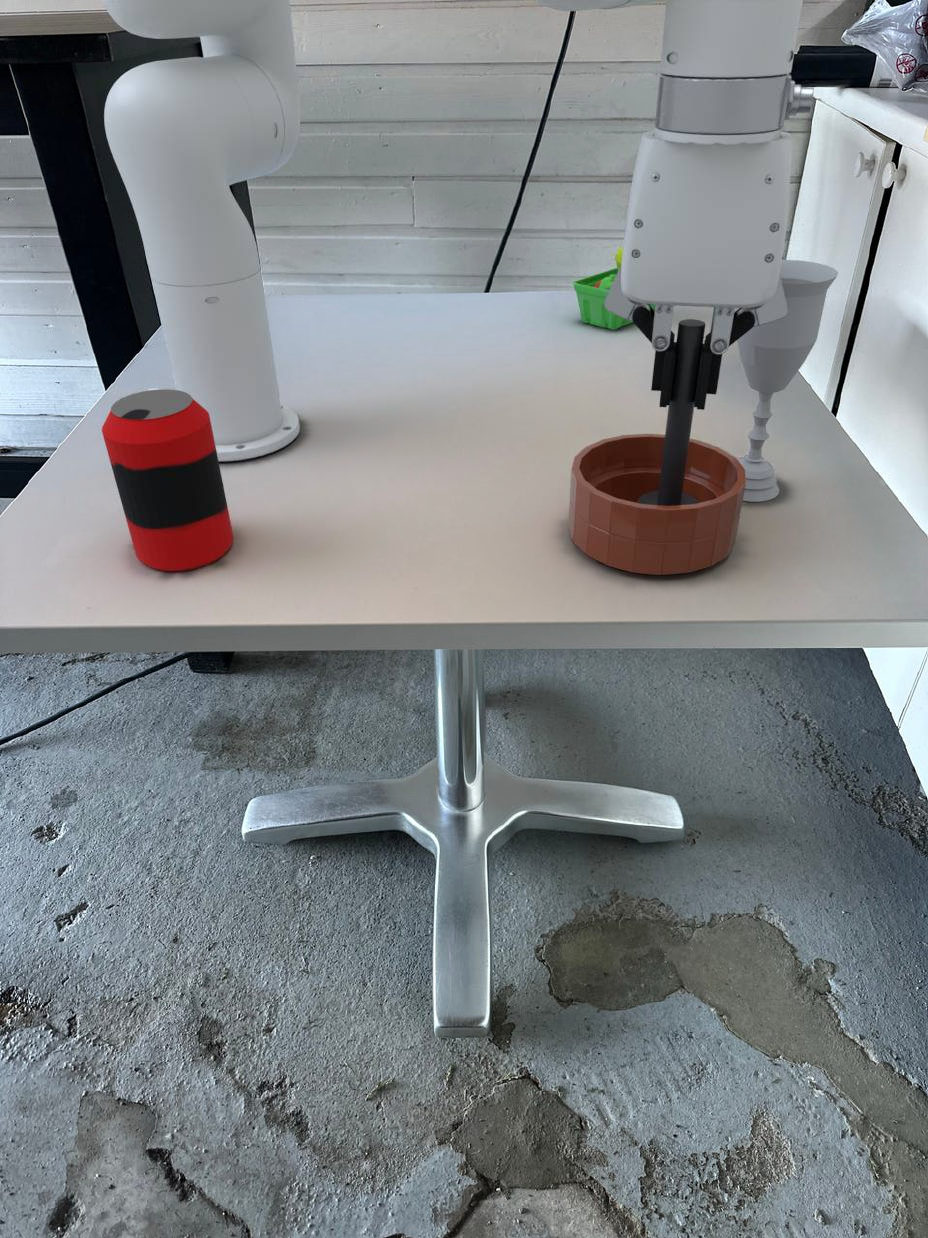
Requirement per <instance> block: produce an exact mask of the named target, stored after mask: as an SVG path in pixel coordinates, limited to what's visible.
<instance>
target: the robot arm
mask: <svg viewBox="0 0 928 1238" xmlns="http://www.w3.org/2000/svg"><path fill="white" fill-rule="evenodd" d="M101 1H102V3H103V5H104V8H105V9H106V11H107V12H108V14H109V16H110V17H111V18H112V19H113V21H114V22H115V23H116V24H117V25H118V26H119V27H120V28H122V29H123V30H125V31H127V32H128V33H130V34H132V35H136V36H138V37H141V38H147V39H155V40H156V39H157V40H169V39H170V40H171V39H186V38H199V39H200V44H201V45H200V46H201V50H202V57H201V56H191V57H190V56H189V57H182V58H173V59H164V60H155V61H150V62H146V63H143V64H140V65H137V66H135V67H133V68H131V69H129V70H128V71H126V72H124V73H123V74H122V75H120V77H119V78H118V79H117V80H116V81H115V82H114V83H113V85H112V86H111V88H110V90H109V92H108V94H107V96H106V101H105V104H104V109H103V110H104V111H103V112H104V113H103V119H104V120H103V121H104V123H103V124H104V130H105V135H106V139H107V143H108V147H109V149H110V152H111V154H112V158H113V160H114V163H115V165H116V167H117V170H118V172H119V174H120V177H121V179H122V182H123V184H124V186H125V189H126V192H127V195H128V197H129V200H130V203H131V205H132V209H133V211H134V214H135V218H136V221H137V225H138V229H139V232H140V236H141V240H142V245H143V249H144V252H145V257H146V262H147V265H148V270H149V275H150V278H151V281H152V286H153V292H154V295H155V299H156V306H157V309H158V314H159V318H160V322H161V328H162V332H163V337H164V341H165V346H166V351H167V355H168V359H169V360H168V361H169V364H170V369H171V373H172V378H173V383H174V387H175V390H179V391H183V392H186V393H188V394H189V395H191V397H192V398H193V399H194V400H195V401H196V402H197V403H199V404H200V405H201V406H202V407H203V408H204V409H206V410H207V412H208V413H209V416H210V421H211V426H212V431H213V436H214V441H215V446H216V451H217V456H218V461H219V462H234V461H243V460H249V459H254V458H259V457H262V456H265V455H268V454H271V453H274V452H277V451H278V450H280V449H283V448H285V447H286V446H287V445H289V444H290V443H292V442H293V441H294V439H296V438H297V437H298V435H299V433H300V430H301V425H300V420H299V416H298V414H297V413H296V412H295V411H294V410H293V409H291V408H289V407H288V406H285V405H283V404H282V403H281V397H280V396H281V395H280V389H279V384H278V376H277V370H276V369H277V368H276V363H275V357H274V349H273V343H272V338H271V336H272V335H271V329H270V322H269V315H268V310H267V302H266V296H265V288H264V282H263V276H262V268H261V265H260V264H261V263H260V258H259V251H258V247H257V243H256V242H257V241H256V238H255V235H254V232H253V230H252V227H251V226H250V223H249V221H248V219H247V217H246V215H245V214H244V212H243V211H242V209H241V207H240V205H239V203H238V202H237V199H236V198H235V197H234V195H233V193H232V191H231V188H230V186H232V185H233V184H234V185H235V184H236V183H242V182H244V181H248V180H252V179H256V178H259V177H260V178H261V177H263V176H267V175H270V174H272V173H274V172H276V171H278V170H280V169H281V168H283V167H284V166H285V165H287V163H288V162H289V161H290V159H291V158H292V156H293V155H294V152H295V150H296V148H297V145H298V142H299V138H300V137H299V136H300V132H301V131H300V130H301V103H300V102H301V101H300V91H299V82H298V81H299V80H298V71H297V61H296V52H295V41H294V40H295V39H294V31H293V30H294V29H293V21H292V20H293V19H292V12H291V11H292V10H291V9H292V8H291V0H101ZM534 1H535V2H537V3H538V4H540V5H541V6H544V7H546V8H549V9H553V10H556V11H560V12H580V11H590V10H591V11H592V10H615V9H625V8H631V7H638V6H643V5H647V4H652V3H658V2H663V1H664V0H534ZM665 1H666V2H665V14H664V23H663V34H662V44H661V56H660V64H659V65H660V66H659V73H660V74H659V76H658V77H659V79H658V89H657V97H656V98H657V100H656V110H655V121H654V130H648V131H644V132H643V133H642V136H641V140H640V143H639V146H638V150H637V155H636V159H635V165H634V169H633V173H632V179H631V185H630V191H629V198H628V205H627V213H626V214H627V215H626V219H625V227H624V228H625V229H624V237H623V243H622V244H623V245H622V246H623V253H622V264H621V266H620V269H619V271H618V273H617V275H616V277H615V279H614V281H613V283H612V285H611V287H610V289H609V292H608V294H607V296H606V299H605V302H604V307H605V309H606V310H608V311H609V312H611V313H614V314H616V315H618V316H620V317H622V318H624V319H626V320H627V319H628V320H630V321H632V323H633V324H634V325H635V326H636V327H637V328H638V329H639V331H640V332H641V333H642V334H643V336H645V338H646V339H647V340H648V341H649V342H650V344H651V346H652V348H653V350H654V351H655V352H654V361H653V369H652V378H651V379H652V380H651V387H650V391H651V392H653V391H654V392H660V397H659V406H658V407H659V408H667V406H668V407H669V406H670V398H671V390H672V382H673V373H674V365H675V357H676V341H675V337H676V334H675V333H674V332H673V330H672V325H673V315H674V306H677V307H700V308H713V311H712V318H711V323H710V325H711V326H710V330H709V333H707V334H706V335H705V336H704V340H703V346H702V350H701V357H700V364H699V371H698V379H697V386H696V393H695V401H694V408H696V410H700V411H701V410H703V411H705V408H706V402H707V395H717V392H718V385H719V378H720V373H721V367H722V360H723V359H722V358H723V354H725V353H726V352H727V351H728V349H729V347H731V346H732V345H733V344H734V343H735V342H737V340H738V339H739V338H740V337H742V336H743V335H744V334H745V333H747V332H748V331H749V330H751V329H752V328H753V327H756V326H761V325H764V324H767V323H770V322H773V321H776V320H779V319H782V318H784V317H785V316H786V315H787V313H788V307H787V302H786V298H785V293H784V289H783V284H782V280H781V275H780V270H781V264H782V260H783V258H784V257H783V256H784V252H785V251H784V249H785V243H786V235H787V228H788V227H787V226H788V220H789V219H788V218H789V209H790V208H789V207H790V198H791V197H790V196H791V195H790V193H791V176H792V175H791V174H792V166H793V163H792V162H793V141H792V134H791V133H789V132H786V131H782V130H783V129H782V128H784V127H785V126H784V125H785V120H790V117H791V116H792V117H794V116H797V114H809V113H811V109H812V104H813V100H814V91H815V88H814V87H805V86H802V84H796V81H794V80H792V75H791V73H792V70H793V64H794V63H793V62H794V56H795V50H796V45H797V39H798V32H799V26H800V20H801V15H802V8H803V2H804V0H665ZM649 304H655V311H654V310H653V309H652V307H651V306H650V305H649ZM736 309H737V310H736ZM735 310H736V311H735ZM161 389H162V388H158V387H157V388H156V387H150V388H148V389H147V391H149V390H161Z"/></svg>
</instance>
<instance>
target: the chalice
mask: <svg viewBox="0 0 928 1238" xmlns="http://www.w3.org/2000/svg"><path fill="white" fill-rule="evenodd" d="M780 275H781V280H782V284H783V289H784V293H785V298H786V302H787V307H788V313H787V315H786V316H785V317H784V318H782V319H779V320H776V321H773V322H770V323H767V324H764V325H761V326H756V327H753V328H752V329H751V330H749V331H748V332H747V333H745V334H744V335H743V336H742V337H740V338H739V339H738V340H737V341H736V342H737V346H738V353H739V358H740V361H741V364H742V368H743V370H744V373H745V376H746V379H747V382H748V385H749V387H750V388H751V389H752V390H754V391H756V392H758V402H757V405H756V407H755V409H754V410H753V411H752V412H751V415H752V416H753V420H754V424H753V425H754V426H753V427H752V430H751V431H750V432H748V433H747V435H746V436H747V437H748V438H749V441H750V443H749V444H750V448H749V451H748V453H747V454H745V455H744V456H742V457H738V458H736V459H737V460H738V461H739V462H740V464H741V465H742V466H743V467H744V469H745V475H746V485H745V490H744V496H743V501H744V502H750V503H751V502H752V503H753V502H755V503H756V502H758V503H760V502H766V501H770V500H772V499H775V498H777V496H778V495H779V494H780V488H779V486H778V484H777V481H778V480H777V477H776V474H775V472H776V470H775V468H774V467H773V465H772V464H771V462H770V461H768V460H766V459H765V457H764V456H763V452H762V450H763V449H762V448H763V446H764V443H765V442H766V441H767V440H768V439H769V438H770V434H769V433H768V431H767V425H768V422H769V420H770V419H771V417H773V413H772V411H771V400H772V398H773V396H774V394H775V393H778V392H782V391H784V390H785V389H786V388H787V387H788V385H790V383H791V381H792V380H793V379H794V377H795V376H796V375H797V373H798V372H799V370H800V369H801V368H802V366H803V365H804V364H805V362H806V360H807V359H808V356H809V355H810V353H811V351H812V350H813V348H814V346H815V344H816V342H817V339H818V335H819V331H820V326H821V322H822V316H823V311H824V307H825V303H826V297H827V292H828V289H829V288H830V287H831V285H832V284H833V283H834V281H835V280H836V279H837V277H838V275H839V272H838V270H836V269H835V268H834V267H832V266H829V265H827V264H823V263H818V262H813V261H806V260H798V259H797V260H796V259H782V264H781V270H780Z"/></svg>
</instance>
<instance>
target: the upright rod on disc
mask: <svg viewBox="0 0 928 1238" xmlns="http://www.w3.org/2000/svg"><path fill="white" fill-rule="evenodd" d="M705 330H706V322H705V321H702V320H700V319H694V318H686V319H682V320H680V321H678V326H677V335H676V340H675V342H676V357H675V365H674V373H673V382H672V390H671V398H670V406H668V409H667V416H666V425H665V434H664V435H665V441H664V449H663V457H662V465H661V474H660V482H659V490H657V491H652V492H648V493H646V494H644V495H642V496H641V497H640V498H639V499H638V502H637V503H639V504H648V505H660V506H675V505H690V504H697V503H699V502H698V501H697V500H696V499H695V498H693V497H692V496H690V495H688V494H685V493H682V491H683V483H684V476H685V469H686V462H687V455H688V447H689V440H690V439H691V433H692V426H693V419H694V417H693V416H694V410H695V407H694V401H695V393H696V386H697V379H698V371H699V364H700V357H701V350H702V346H703V344H704V340H705V332H706V331H705Z"/></svg>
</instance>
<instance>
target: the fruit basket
mask: <svg viewBox="0 0 928 1238" xmlns="http://www.w3.org/2000/svg"><path fill="white" fill-rule="evenodd" d="M622 253H623V245H622V246H621V247H620V248H618V249H617V251H616V253H615V257H614V260H615V263H616V267H614V268H611V269H608V270H605V271H601V272H600V273H599V272H598V273H595V274H593V275H590V276H588V277H584V278H581V279H577V280H574V281H573V282H572V285H573V288H574V291H575V293H576V298H577V302H578V307H579V308H578V309H579V312H580V317H581V320H582V323H583V324H590V325H592V326H597V327H601V328H604V329H605V328H606V329H609V330H612V331H614V330H617V329H619V328H621V327H624V326H627V325H629V324H632V323H633V322H632V321H630V320H628V319H627V320H626V319H624V318H622V317H620V316H618V315H616V314H614V313H611V312H609V311H608V310H606V309H605V307H604V302H605V299H606V296H607V294H608V292H609V289H610V287H611V285H612V283H613V281H614V279H615V277H616V275H617V273H618V271H619V269H620V266H621V264H622ZM649 305H650V306H651V307H652V309H653V310H654V311H655V304H649Z"/></svg>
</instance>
